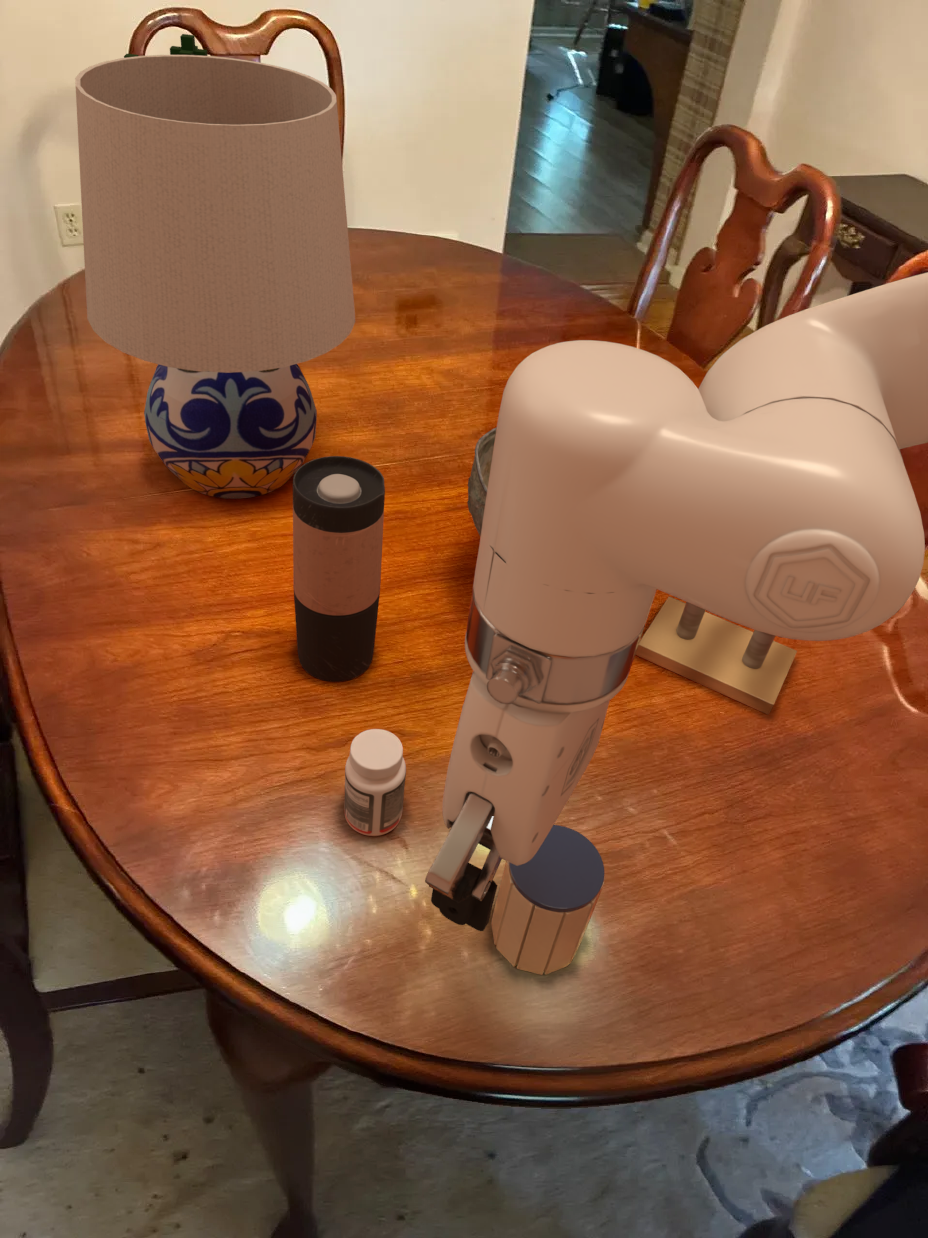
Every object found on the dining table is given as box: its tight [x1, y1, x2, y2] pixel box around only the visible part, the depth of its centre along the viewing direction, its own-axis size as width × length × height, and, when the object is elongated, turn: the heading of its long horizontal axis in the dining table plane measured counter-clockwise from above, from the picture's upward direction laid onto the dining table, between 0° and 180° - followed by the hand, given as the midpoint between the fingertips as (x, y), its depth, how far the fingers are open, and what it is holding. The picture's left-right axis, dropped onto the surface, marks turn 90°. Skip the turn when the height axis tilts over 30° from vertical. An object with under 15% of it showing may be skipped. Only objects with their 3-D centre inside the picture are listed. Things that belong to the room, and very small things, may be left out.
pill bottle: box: [343, 728, 407, 837], centre depth 73 cm, size 5×5×8 cm
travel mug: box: [292, 455, 386, 683], centre depth 81 cm, size 8×8×20 cm
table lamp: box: [74, 54, 356, 500], centre depth 96 cm, size 27×27×40 cm
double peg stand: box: [635, 595, 798, 716], centre depth 90 cm, size 14×9×12 cm, turn 60°
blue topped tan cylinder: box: [491, 824, 606, 976], centre depth 66 cm, size 7×7×9 cm
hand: (500, 847), depth 52 cm, fingers open, 9 cm apart
